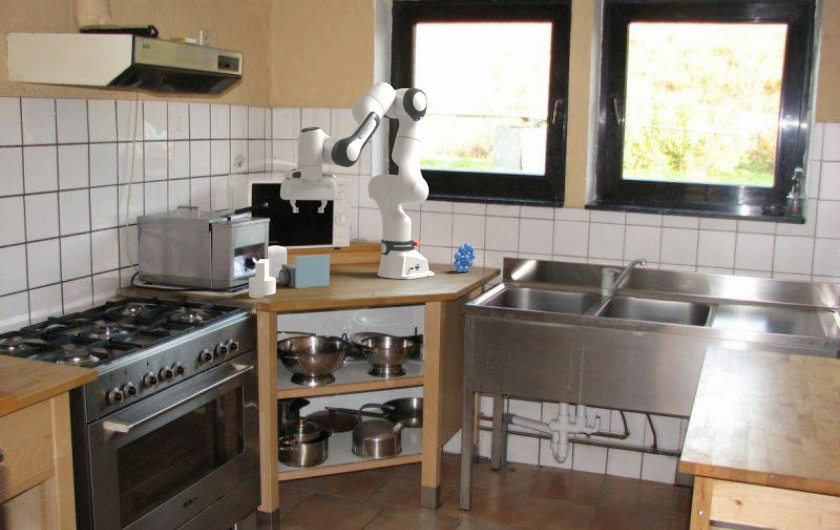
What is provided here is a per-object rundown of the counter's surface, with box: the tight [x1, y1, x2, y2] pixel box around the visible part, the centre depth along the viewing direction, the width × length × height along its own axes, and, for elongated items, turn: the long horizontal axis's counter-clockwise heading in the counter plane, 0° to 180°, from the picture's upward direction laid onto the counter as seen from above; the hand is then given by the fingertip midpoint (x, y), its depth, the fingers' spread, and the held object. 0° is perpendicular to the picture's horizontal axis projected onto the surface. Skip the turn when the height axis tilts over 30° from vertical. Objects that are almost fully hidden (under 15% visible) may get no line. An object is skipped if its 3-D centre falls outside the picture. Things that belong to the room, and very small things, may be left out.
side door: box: [294, 254, 331, 289], centre depth 326 cm, size 13×1×12 cm, turn 123°
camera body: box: [278, 263, 295, 288], centre depth 331 cm, size 16×9×9 cm, turn 123°
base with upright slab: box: [248, 258, 277, 299], centre depth 313 cm, size 9×9×12 cm
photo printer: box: [267, 245, 288, 279], centre depth 346 cm, size 10×4×12 cm, turn 134°
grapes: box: [453, 242, 476, 273], centre depth 371 cm, size 12×7×12 cm, turn 133°
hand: (308, 212), depth 328 cm, fingers open, 8 cm apart
